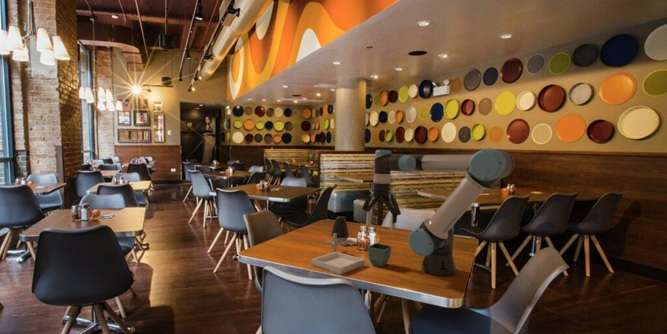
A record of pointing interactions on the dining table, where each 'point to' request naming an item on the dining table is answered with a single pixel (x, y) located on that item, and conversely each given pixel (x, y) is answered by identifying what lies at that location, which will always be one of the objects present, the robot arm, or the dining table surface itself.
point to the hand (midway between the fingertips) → (380, 227)
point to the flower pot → (379, 254)
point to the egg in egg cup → (340, 229)
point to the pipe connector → (334, 242)
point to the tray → (338, 262)
